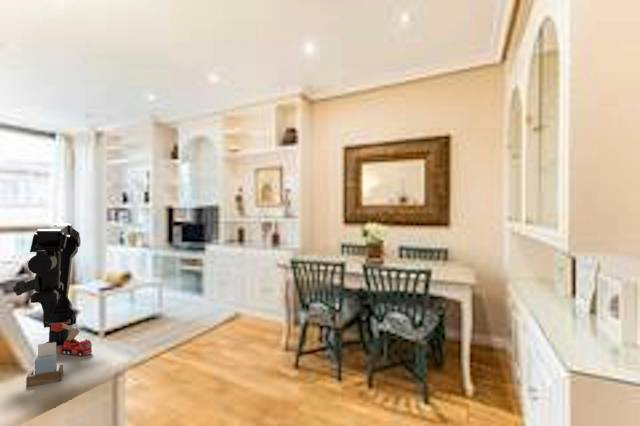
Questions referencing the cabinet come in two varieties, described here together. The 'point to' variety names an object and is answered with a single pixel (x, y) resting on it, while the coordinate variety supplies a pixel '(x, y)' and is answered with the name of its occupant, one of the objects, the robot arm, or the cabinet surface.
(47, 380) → the dock
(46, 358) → the block on wooden base
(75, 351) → the toy fire truck
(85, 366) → the cabinet surface
